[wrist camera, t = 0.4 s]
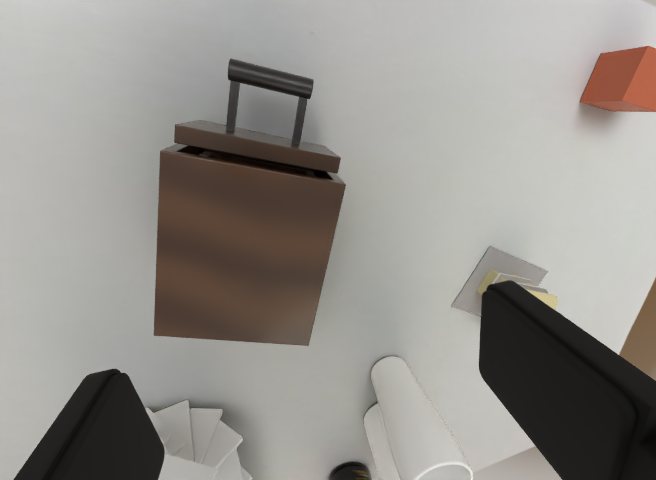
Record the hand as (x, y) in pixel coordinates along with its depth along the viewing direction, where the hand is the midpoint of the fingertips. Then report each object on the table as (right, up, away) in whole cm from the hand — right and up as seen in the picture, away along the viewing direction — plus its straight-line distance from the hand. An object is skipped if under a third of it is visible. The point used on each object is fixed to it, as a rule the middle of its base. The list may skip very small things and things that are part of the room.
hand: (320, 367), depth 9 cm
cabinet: (-8, +5, +25) cm, 27 cm away
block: (+29, +20, +26) cm, 44 cm away
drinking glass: (+8, -14, +36) cm, 40 cm away
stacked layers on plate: (+22, -3, +34) cm, 41 cm away
